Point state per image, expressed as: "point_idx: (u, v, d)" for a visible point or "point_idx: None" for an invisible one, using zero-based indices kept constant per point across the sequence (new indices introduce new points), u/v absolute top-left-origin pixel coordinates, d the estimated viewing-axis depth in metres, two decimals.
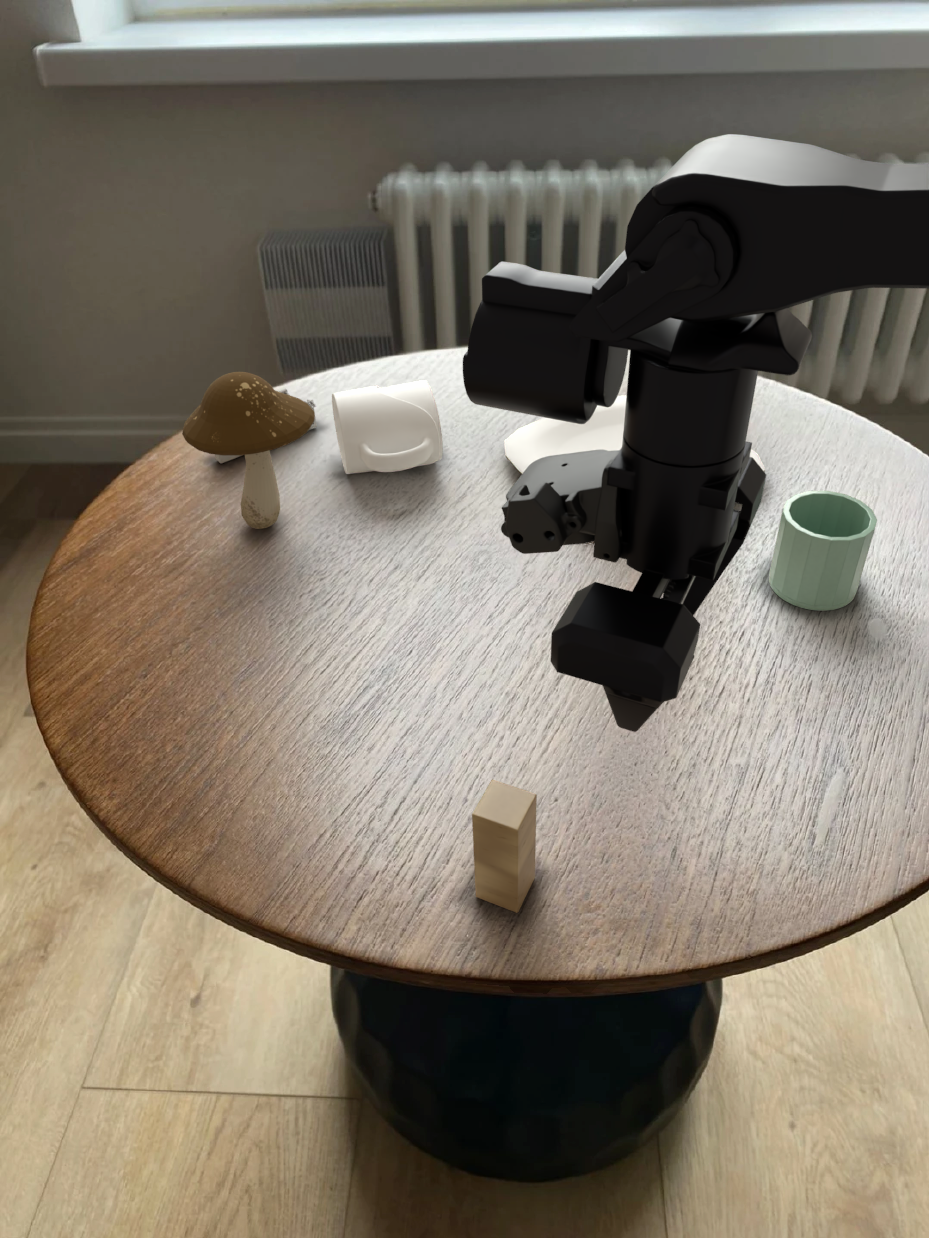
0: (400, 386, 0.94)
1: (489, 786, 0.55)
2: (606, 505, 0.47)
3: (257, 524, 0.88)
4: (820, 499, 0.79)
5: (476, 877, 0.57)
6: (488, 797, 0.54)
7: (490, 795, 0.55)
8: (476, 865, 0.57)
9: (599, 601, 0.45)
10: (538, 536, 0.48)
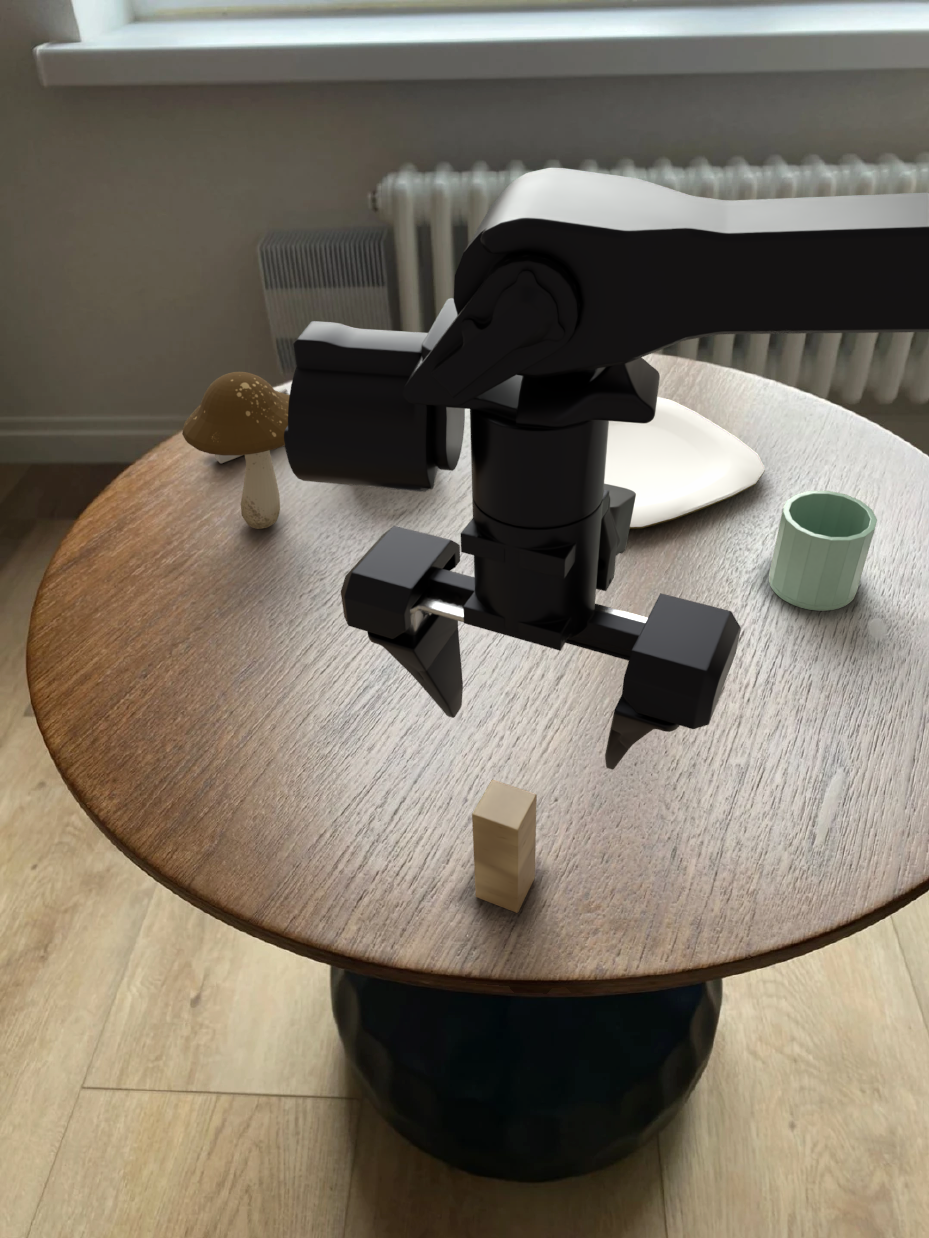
0: None
1: (489, 786, 0.55)
2: None
3: (257, 524, 0.88)
4: (820, 499, 0.79)
5: (476, 877, 0.57)
6: (488, 797, 0.54)
7: (490, 795, 0.55)
8: (476, 865, 0.57)
9: (422, 541, 0.49)
10: None
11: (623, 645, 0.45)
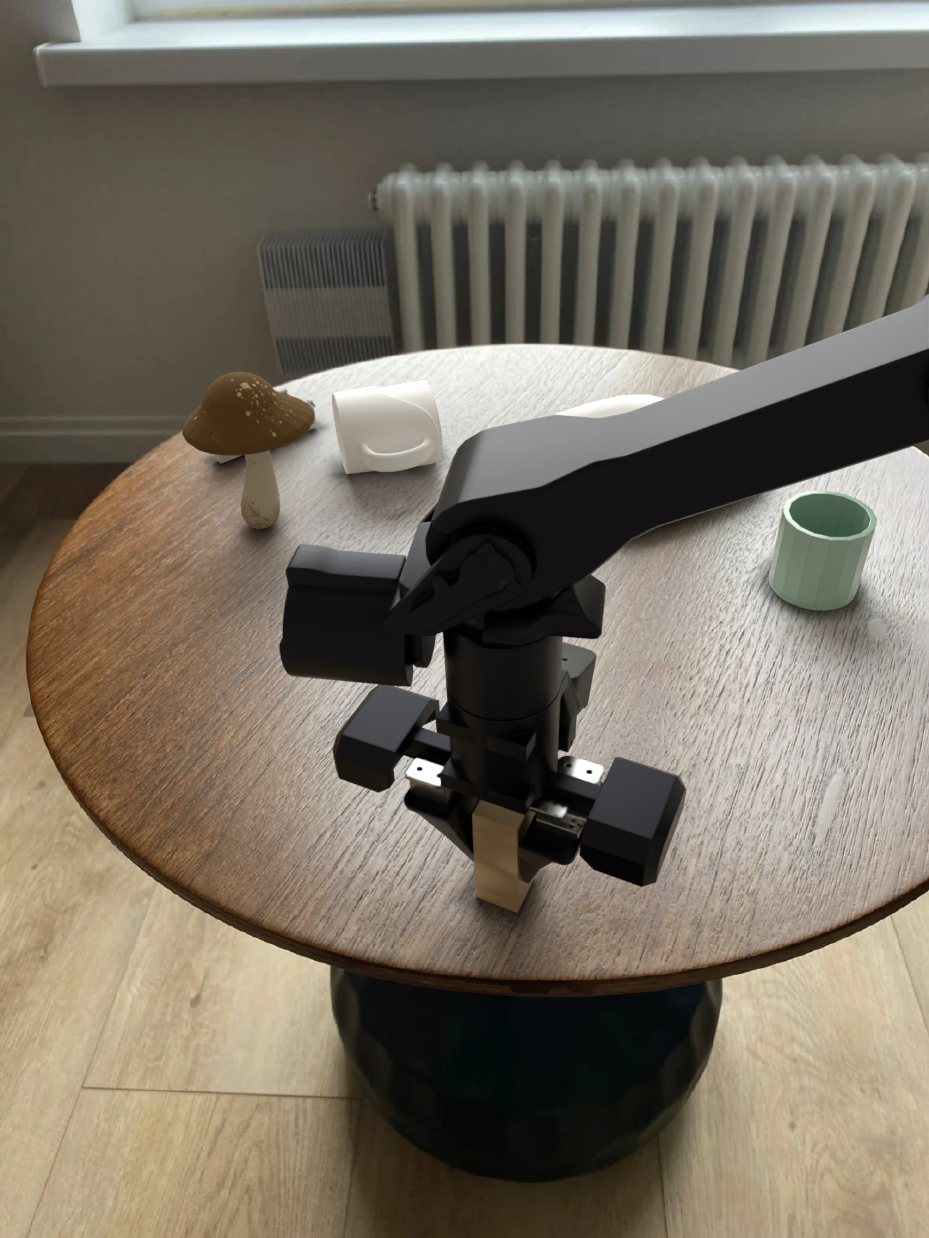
0: (400, 386, 0.94)
1: None
2: None
3: (257, 524, 0.88)
4: (820, 499, 0.79)
5: (476, 877, 0.57)
6: None
7: None
8: (476, 865, 0.57)
9: (404, 700, 0.55)
10: None
11: (582, 805, 0.50)
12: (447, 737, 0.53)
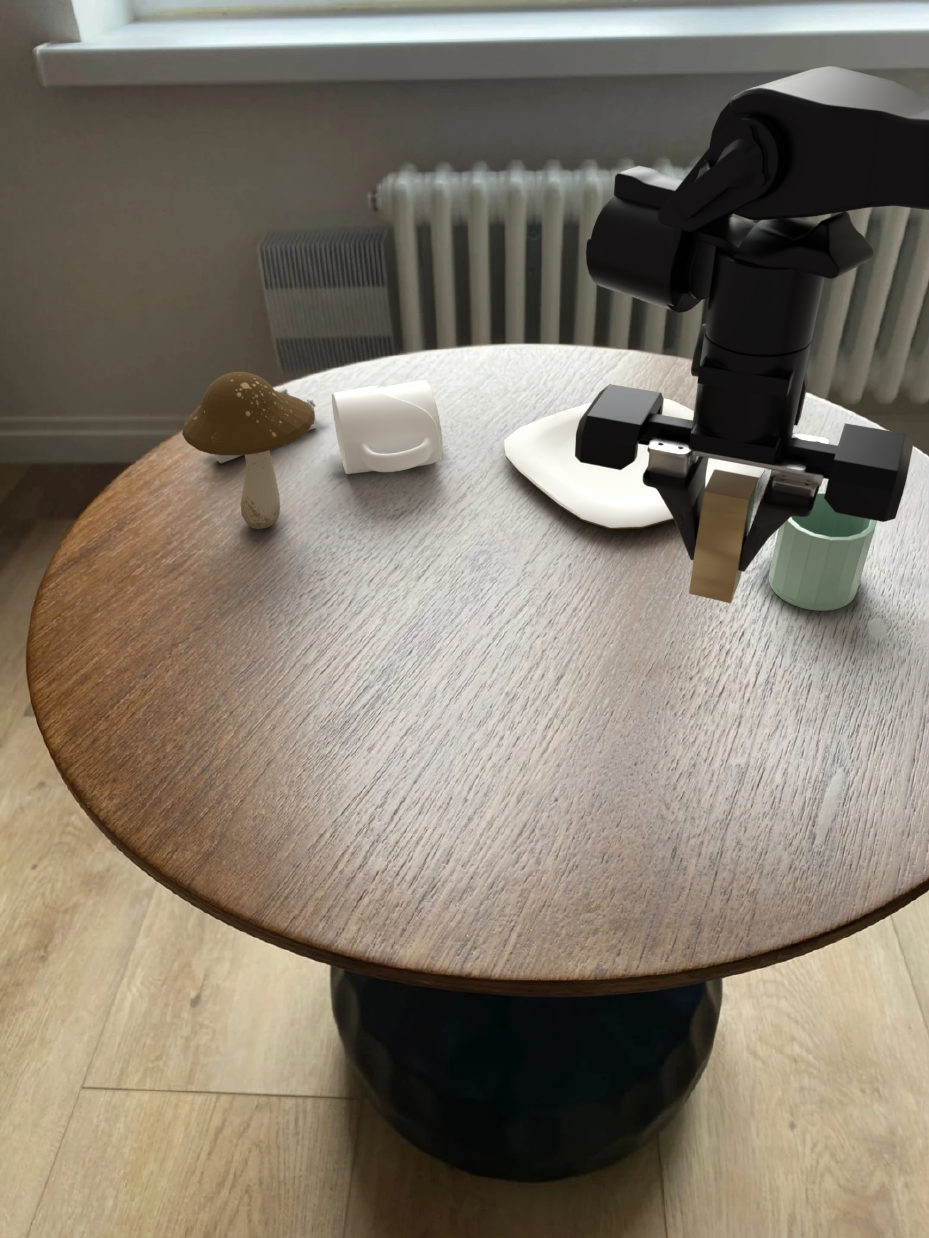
0: (400, 386, 0.94)
1: (713, 473, 0.60)
2: None
3: (257, 524, 0.88)
4: (820, 499, 0.79)
5: (694, 568, 0.62)
6: (715, 480, 0.59)
7: (717, 478, 0.60)
8: (697, 553, 0.61)
9: (637, 394, 0.60)
10: None
11: (818, 463, 0.55)
12: (682, 419, 0.58)
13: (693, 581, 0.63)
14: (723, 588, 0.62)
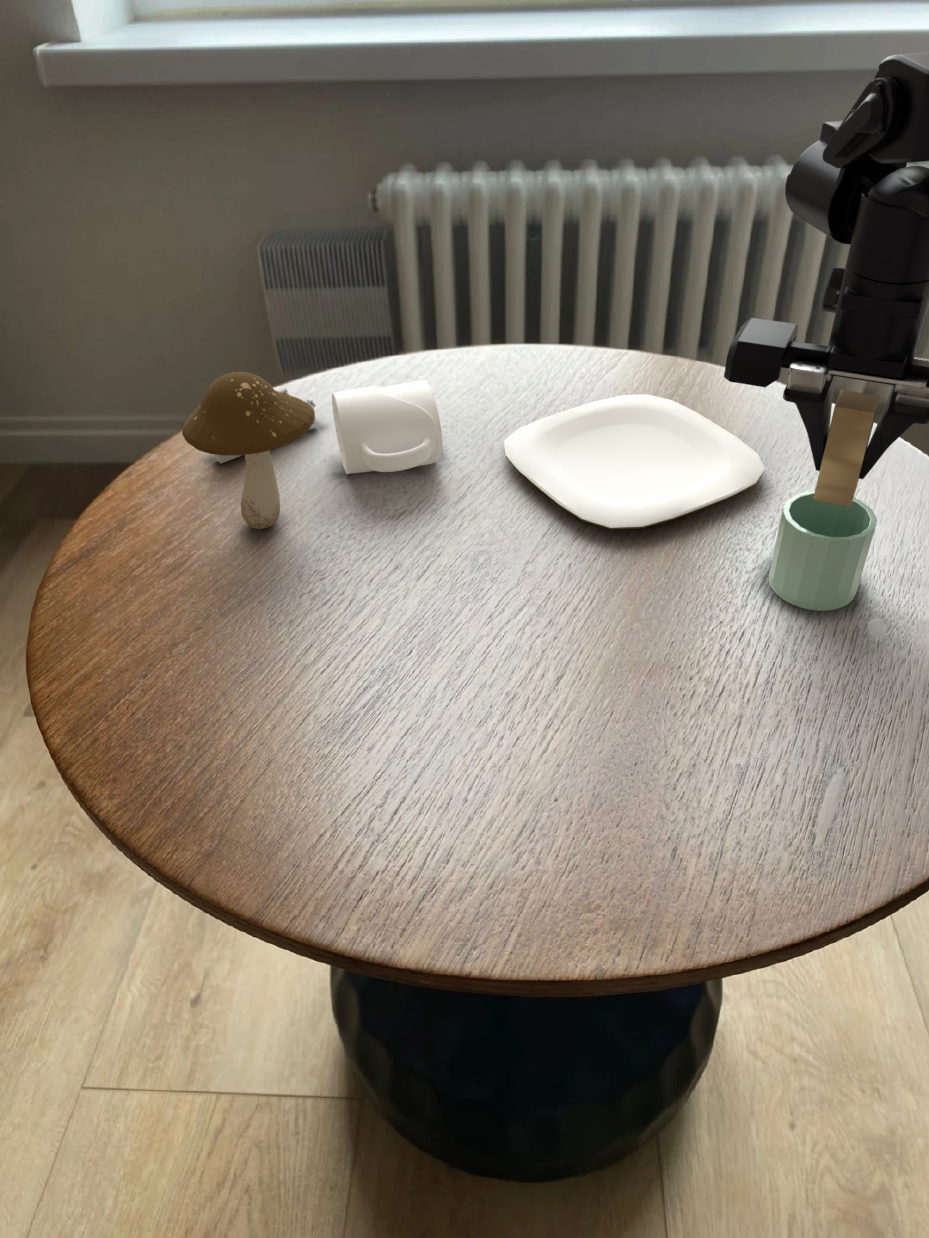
0: (400, 386, 0.94)
1: (841, 393, 0.71)
2: None
3: (257, 524, 0.88)
4: None
5: (820, 476, 0.73)
6: (843, 398, 0.70)
7: (844, 396, 0.70)
8: (824, 462, 0.72)
9: (777, 325, 0.71)
10: None
11: None
12: (817, 345, 0.69)
13: (818, 488, 0.74)
14: (845, 493, 0.73)
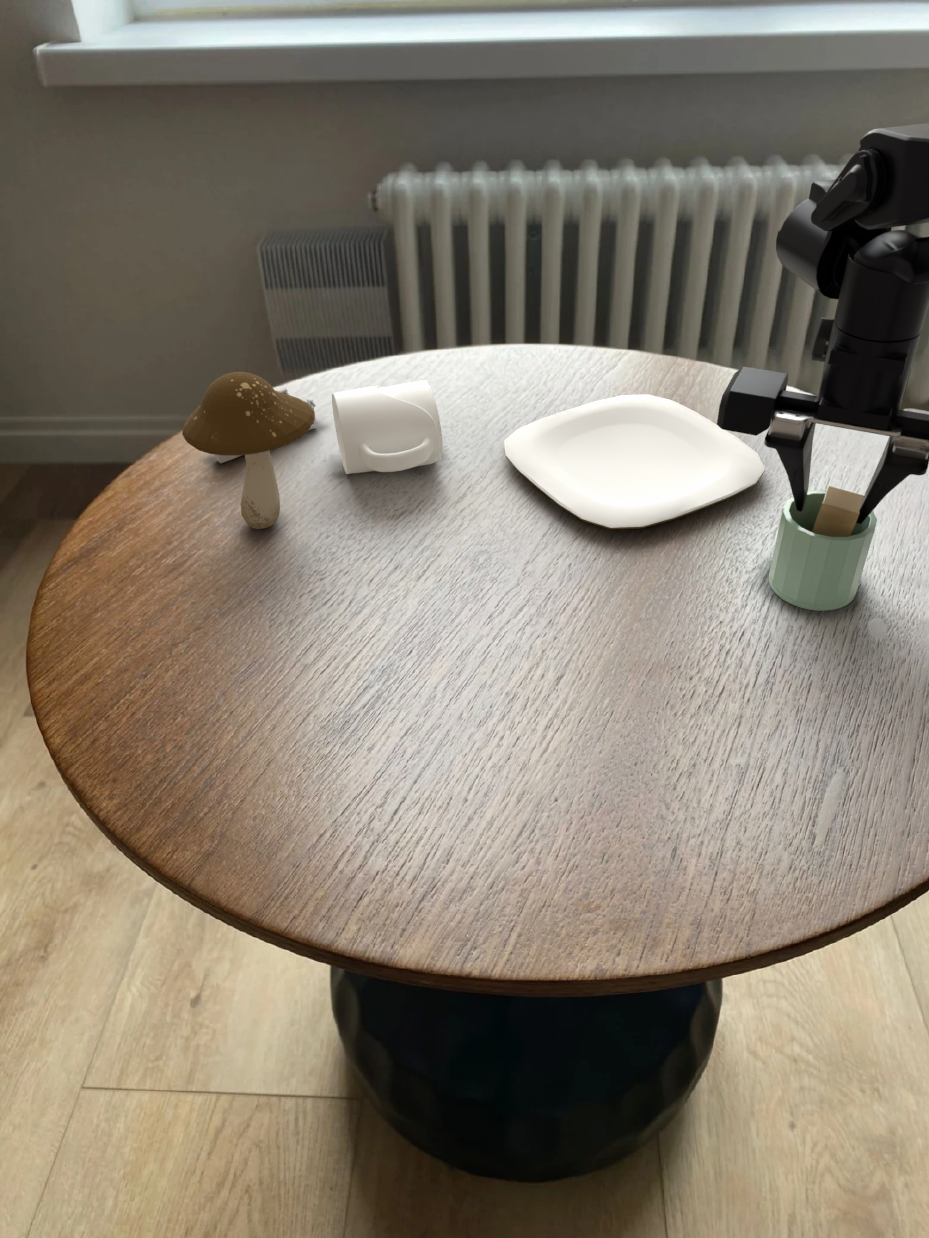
0: (400, 386, 0.94)
1: (828, 489, 0.76)
2: None
3: (257, 524, 0.88)
4: (820, 499, 0.79)
5: None
6: (830, 495, 0.75)
7: (831, 494, 0.75)
8: None
9: (768, 374, 0.73)
10: None
11: (921, 430, 0.69)
12: (807, 395, 0.72)
13: None
14: None
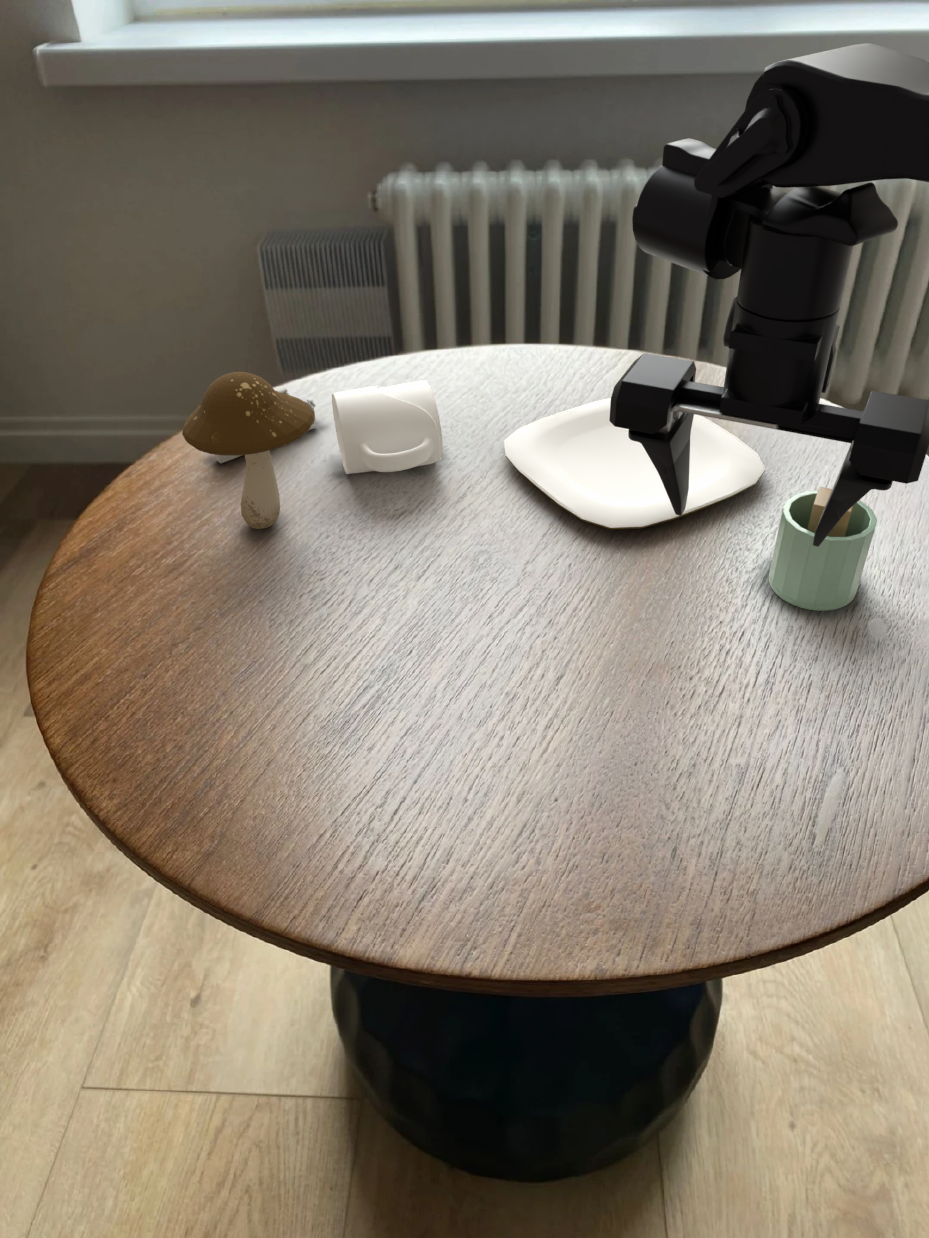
0: (400, 386, 0.94)
1: (819, 490, 0.76)
2: None
3: (257, 524, 0.88)
4: None
5: None
6: (821, 495, 0.76)
7: (823, 494, 0.76)
8: None
9: (670, 362, 0.62)
10: None
11: (844, 428, 0.58)
12: (713, 386, 0.61)
13: None
14: None
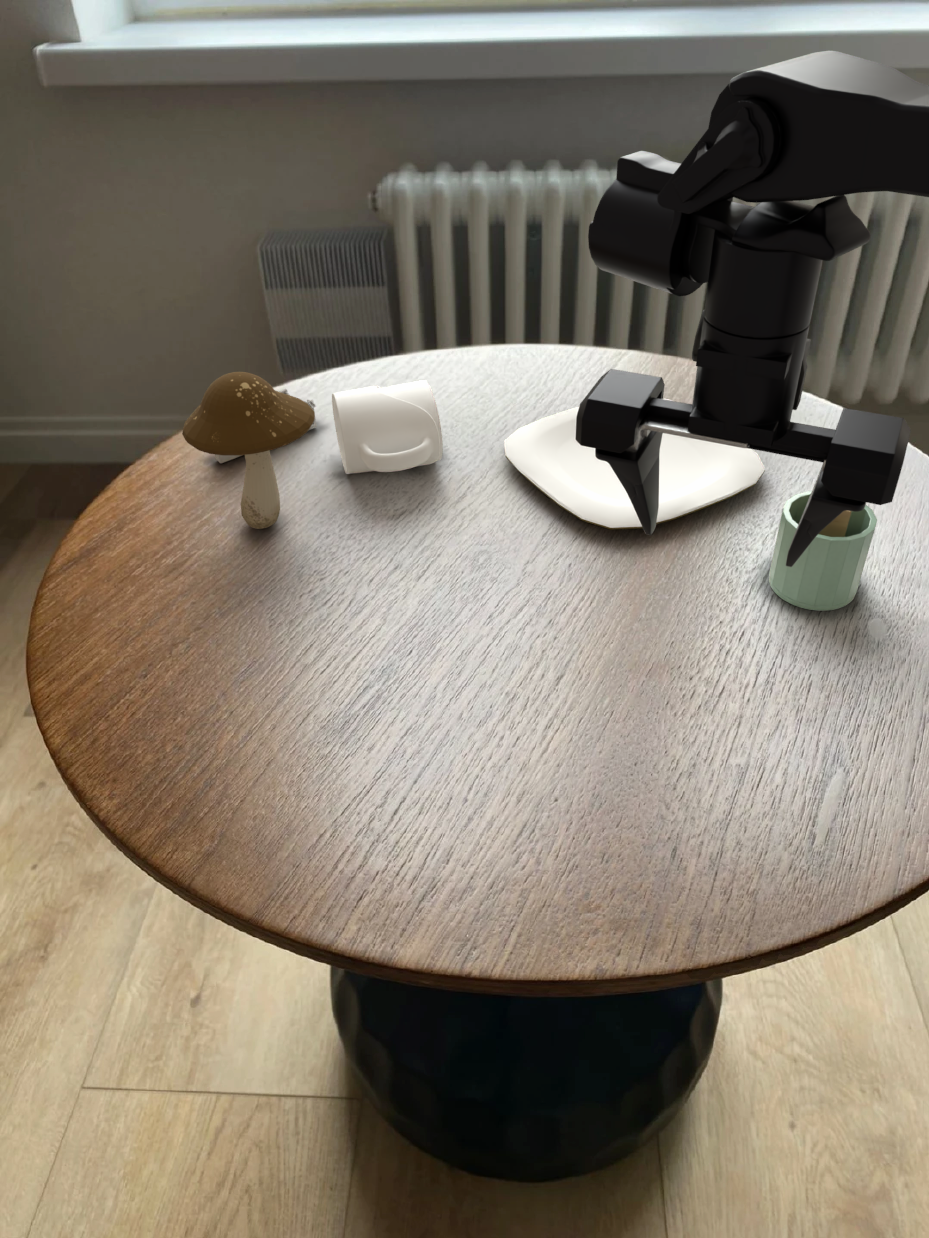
0: (400, 386, 0.94)
1: None
2: None
3: (257, 524, 0.88)
4: None
5: None
6: None
7: None
8: None
9: (638, 378, 0.60)
10: None
11: (816, 447, 0.56)
12: (682, 403, 0.59)
13: None
14: None
